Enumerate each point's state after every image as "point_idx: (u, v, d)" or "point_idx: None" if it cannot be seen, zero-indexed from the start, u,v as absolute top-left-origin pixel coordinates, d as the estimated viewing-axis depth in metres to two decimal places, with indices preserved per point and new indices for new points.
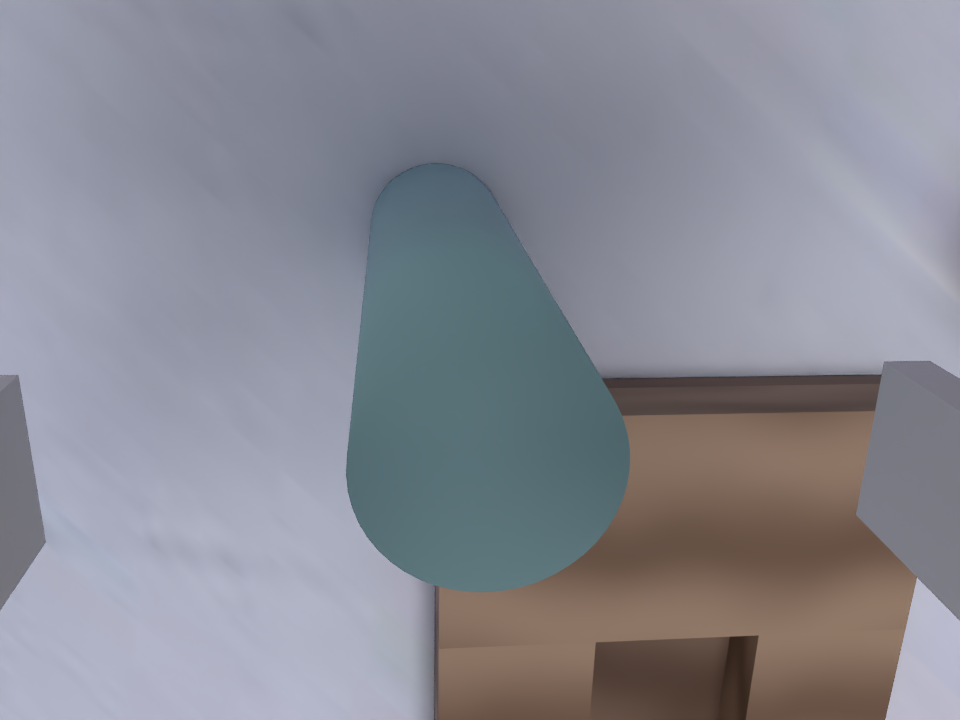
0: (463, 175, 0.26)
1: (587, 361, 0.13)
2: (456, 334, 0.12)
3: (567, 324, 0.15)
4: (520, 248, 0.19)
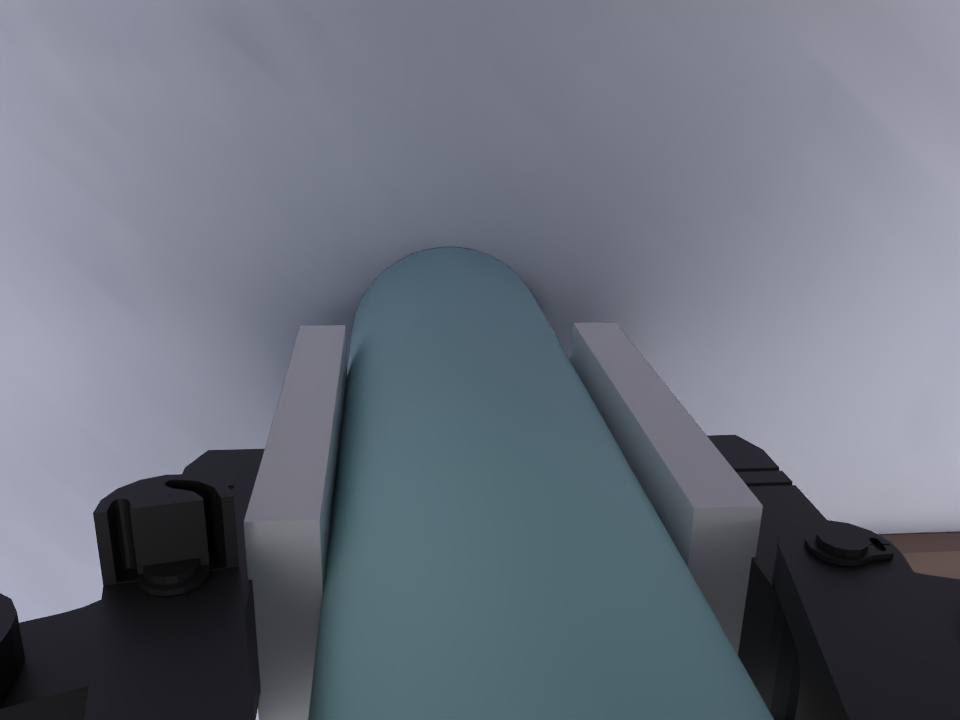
0: (491, 270, 0.17)
1: None
2: None
3: None
4: (619, 461, 0.10)
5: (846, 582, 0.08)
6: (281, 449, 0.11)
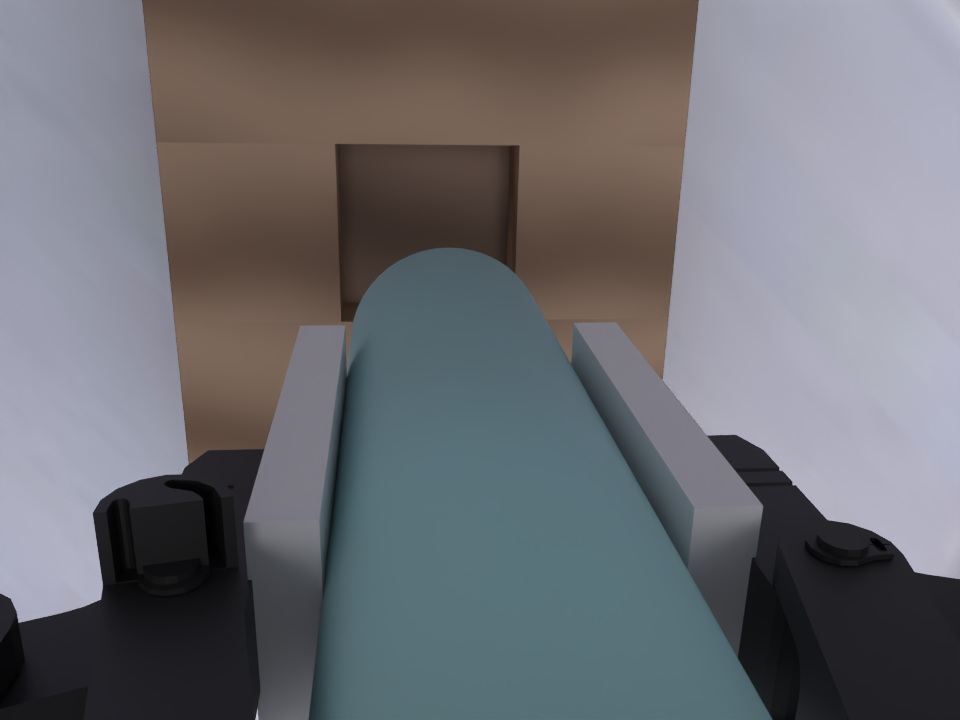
0: (490, 271, 0.17)
1: None
2: None
3: None
4: (618, 461, 0.10)
5: (846, 582, 0.08)
6: (281, 449, 0.11)
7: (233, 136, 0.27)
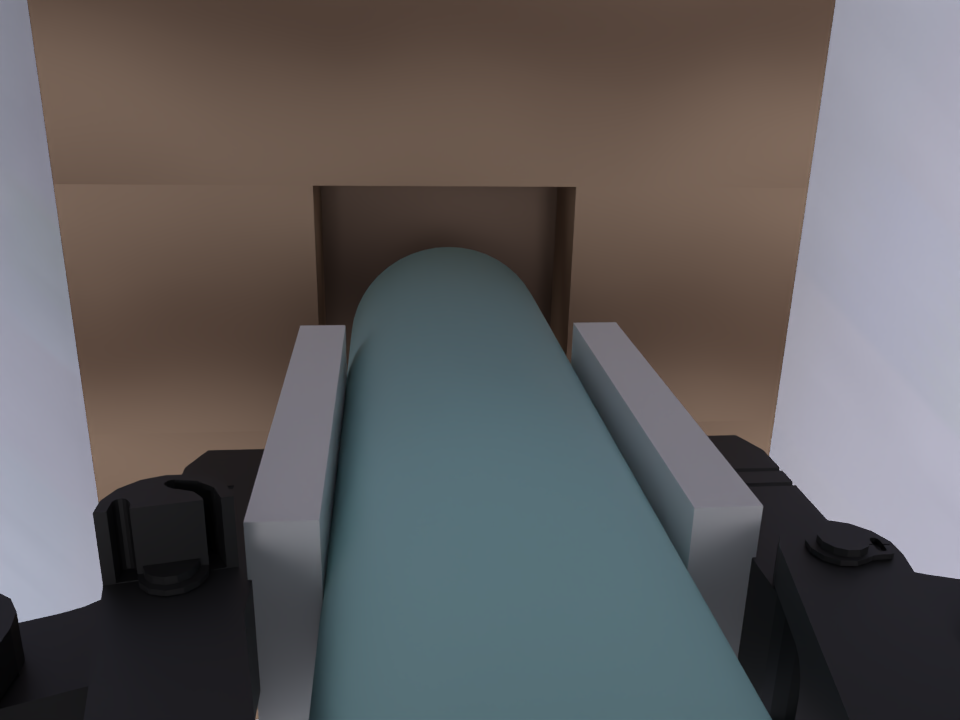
0: (490, 270, 0.17)
1: None
2: None
3: None
4: (616, 458, 0.10)
5: (846, 582, 0.08)
6: (280, 449, 0.11)
7: (165, 175, 0.18)
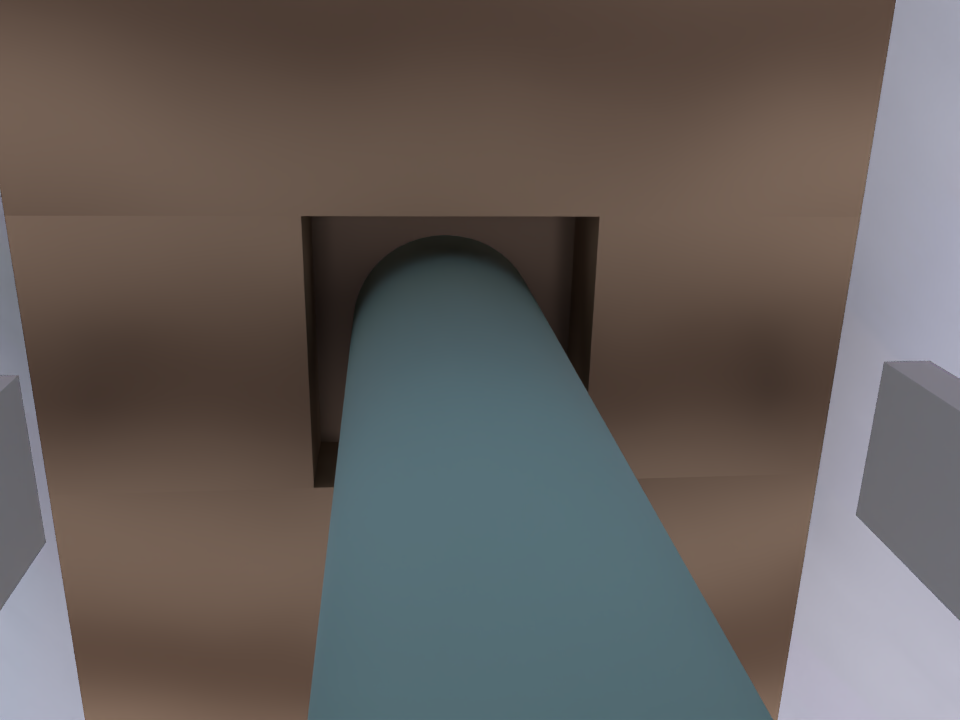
0: (484, 256, 0.18)
1: None
2: None
3: (746, 683, 0.07)
4: (596, 419, 0.11)
5: None
6: None
7: (132, 205, 0.16)
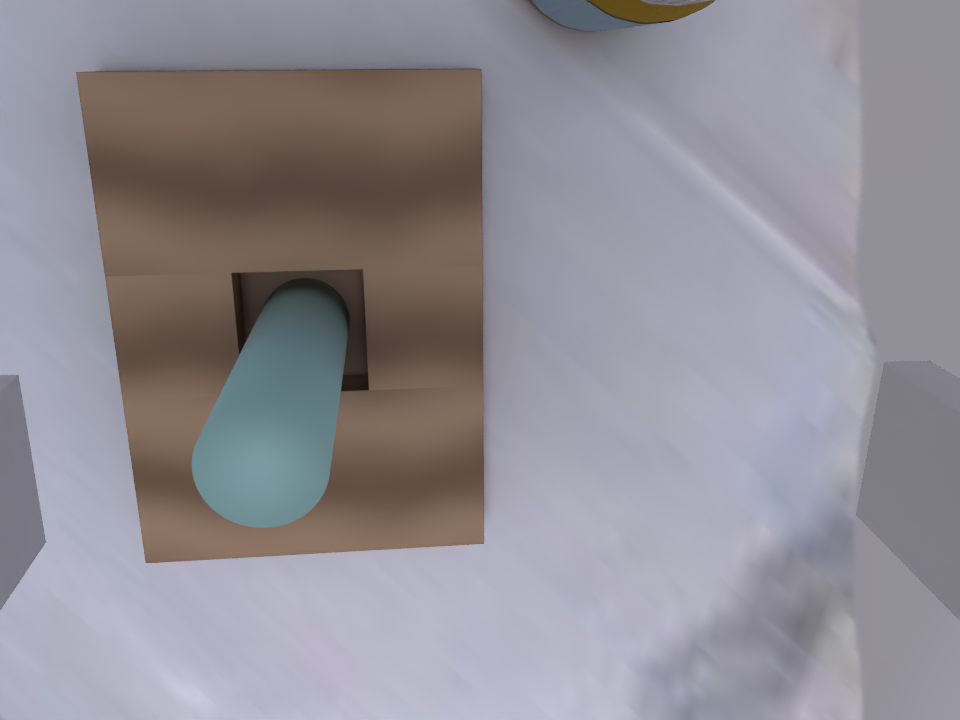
0: (316, 287, 0.40)
1: (308, 413, 0.27)
2: (240, 404, 0.26)
3: (316, 393, 0.29)
4: (322, 344, 0.33)
5: None
6: None
7: (159, 270, 0.38)
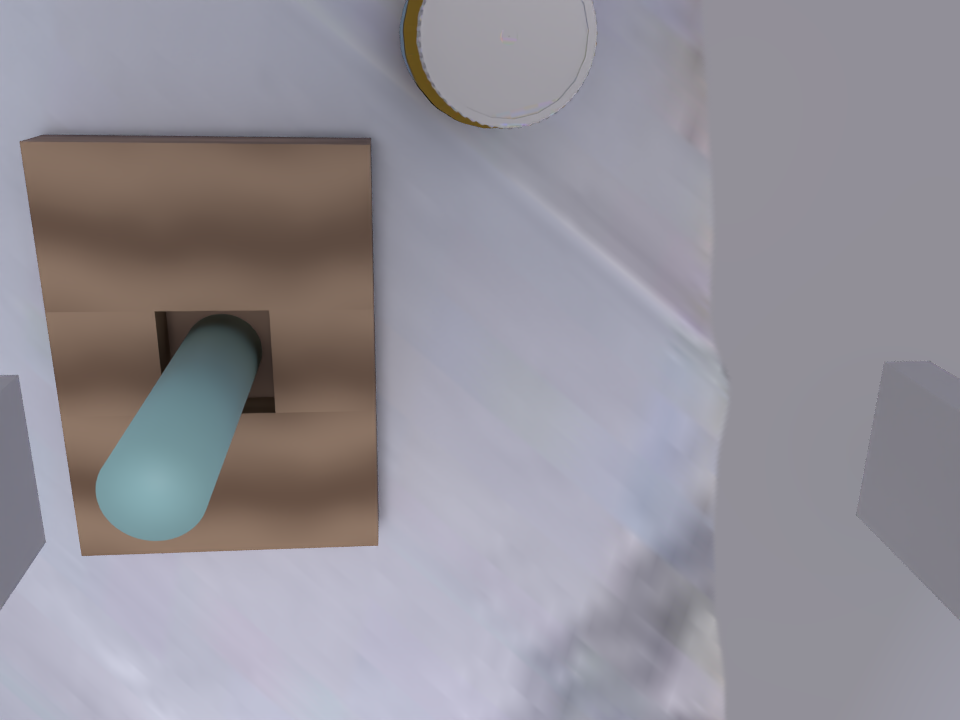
0: (230, 324, 0.46)
1: (192, 450, 0.33)
2: (134, 443, 0.32)
3: (204, 430, 0.35)
4: (221, 382, 0.40)
5: None
6: None
7: (91, 308, 0.44)
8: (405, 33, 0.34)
